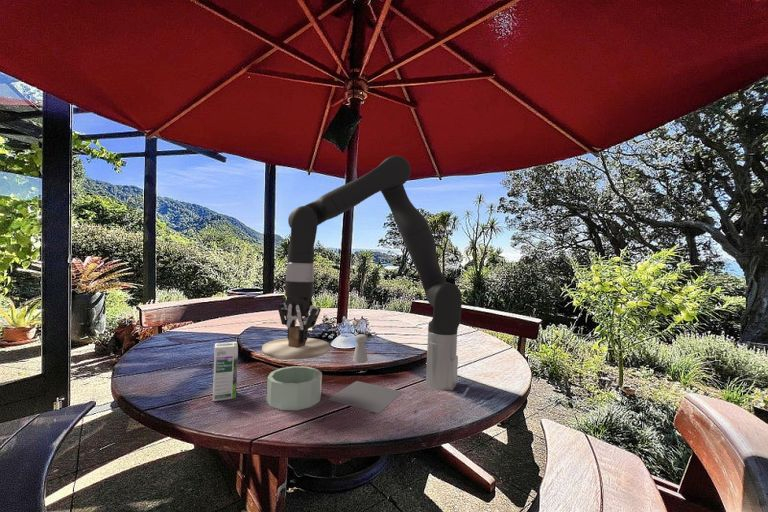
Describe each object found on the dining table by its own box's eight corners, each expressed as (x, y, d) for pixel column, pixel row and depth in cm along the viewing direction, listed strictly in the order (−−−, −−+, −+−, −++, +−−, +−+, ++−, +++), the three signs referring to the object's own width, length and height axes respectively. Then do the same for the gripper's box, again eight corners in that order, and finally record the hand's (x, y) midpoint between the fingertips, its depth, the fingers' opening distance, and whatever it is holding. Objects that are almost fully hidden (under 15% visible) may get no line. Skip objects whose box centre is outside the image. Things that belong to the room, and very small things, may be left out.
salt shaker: (365, 375, 112) (367, 337, 112) (349, 374, 113) (351, 336, 113) (369, 370, 118) (371, 333, 118) (354, 368, 119) (355, 332, 119)
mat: (402, 393, 98) (402, 391, 98) (378, 415, 84) (378, 413, 84) (356, 382, 105) (356, 380, 105) (326, 401, 91) (327, 399, 91)
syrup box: (212, 402, 88) (215, 347, 88) (212, 393, 93) (214, 342, 93) (236, 398, 90) (238, 345, 90) (234, 390, 95) (237, 340, 96)
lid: (342, 347, 95) (343, 326, 95) (300, 363, 79) (301, 338, 79) (293, 337, 103) (294, 318, 103) (246, 351, 87) (247, 328, 87)
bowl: (330, 396, 94) (331, 372, 94) (297, 417, 82) (298, 388, 82) (292, 386, 100) (293, 363, 100) (255, 404, 88) (256, 377, 88)
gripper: (328, 280, 91) (326, 343, 91) (289, 277, 98) (286, 335, 97) (311, 281, 85) (308, 349, 85) (270, 278, 91) (267, 341, 91)
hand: (297, 341), depth 91 cm, fingers closed on lid, 3 cm apart
